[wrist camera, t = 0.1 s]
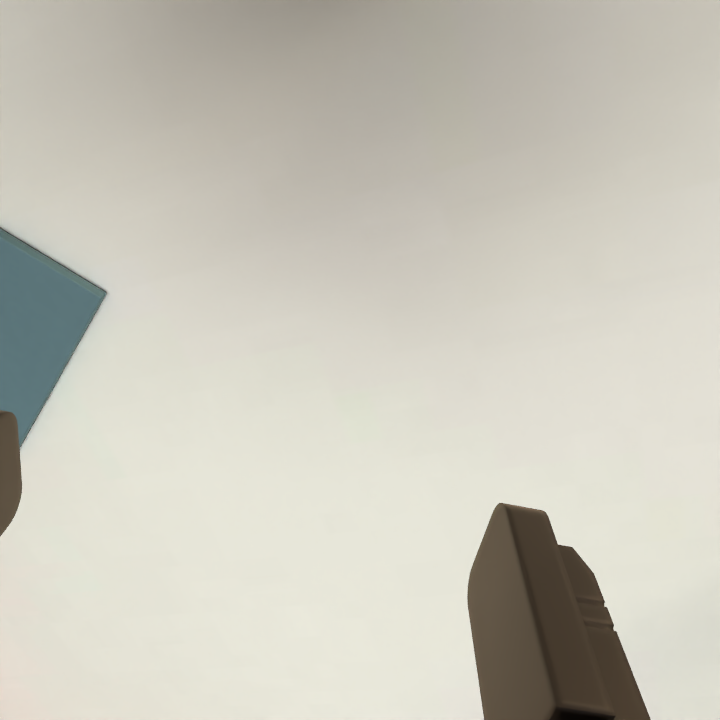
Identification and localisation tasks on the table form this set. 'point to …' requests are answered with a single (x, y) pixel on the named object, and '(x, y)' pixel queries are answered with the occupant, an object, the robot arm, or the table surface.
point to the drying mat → (37, 326)
